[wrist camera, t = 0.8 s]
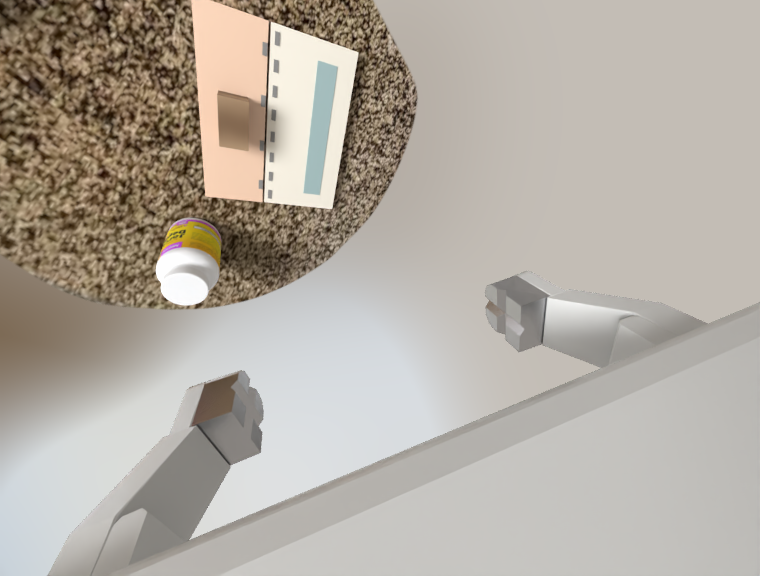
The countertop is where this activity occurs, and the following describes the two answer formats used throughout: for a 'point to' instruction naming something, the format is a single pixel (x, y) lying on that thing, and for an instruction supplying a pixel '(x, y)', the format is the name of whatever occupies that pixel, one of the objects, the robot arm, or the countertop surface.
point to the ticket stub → (231, 98)
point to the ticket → (305, 117)
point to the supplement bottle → (189, 261)
